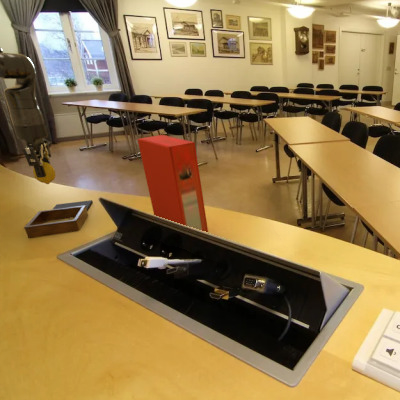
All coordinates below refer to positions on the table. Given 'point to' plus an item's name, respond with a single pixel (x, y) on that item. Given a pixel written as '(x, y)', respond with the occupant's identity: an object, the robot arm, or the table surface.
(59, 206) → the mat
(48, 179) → the lemon
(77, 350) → the table surface
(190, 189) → the file binder
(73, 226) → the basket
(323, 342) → the table surface
